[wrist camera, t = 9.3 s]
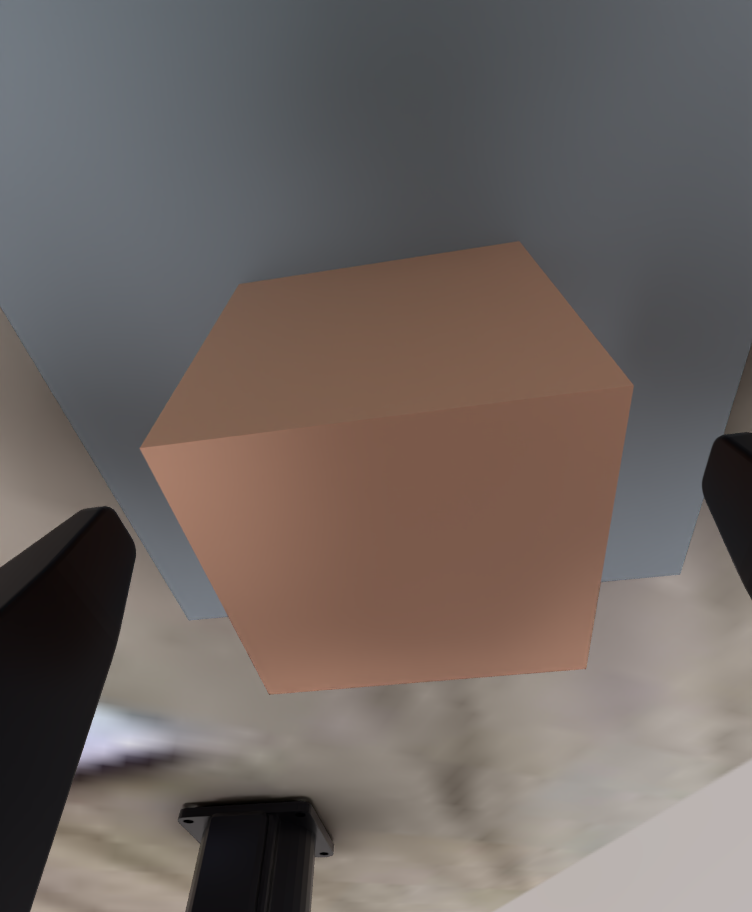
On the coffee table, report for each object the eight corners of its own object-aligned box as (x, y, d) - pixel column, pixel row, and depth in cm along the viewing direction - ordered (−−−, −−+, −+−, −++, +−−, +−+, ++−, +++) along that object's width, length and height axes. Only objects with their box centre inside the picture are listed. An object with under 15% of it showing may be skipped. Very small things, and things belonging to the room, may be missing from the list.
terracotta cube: (515, 466, 12) (585, 668, 8) (303, 490, 12) (268, 694, 8) (519, 240, 9) (633, 386, 5) (239, 284, 9) (139, 447, 5)
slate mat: (670, 557, 15) (680, 574, 14) (194, 603, 16) (188, 620, 15) (889, -214, 6) (931, -237, 6) (-147, 7, 8) (-182, 3, 7)
